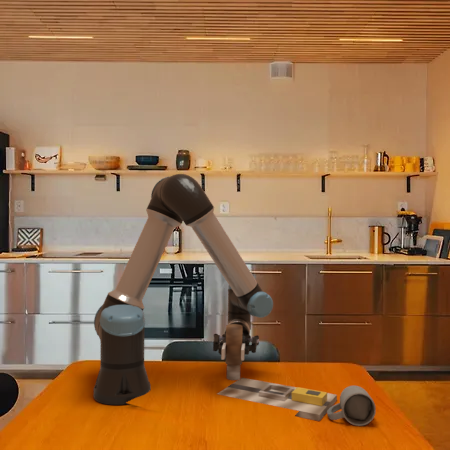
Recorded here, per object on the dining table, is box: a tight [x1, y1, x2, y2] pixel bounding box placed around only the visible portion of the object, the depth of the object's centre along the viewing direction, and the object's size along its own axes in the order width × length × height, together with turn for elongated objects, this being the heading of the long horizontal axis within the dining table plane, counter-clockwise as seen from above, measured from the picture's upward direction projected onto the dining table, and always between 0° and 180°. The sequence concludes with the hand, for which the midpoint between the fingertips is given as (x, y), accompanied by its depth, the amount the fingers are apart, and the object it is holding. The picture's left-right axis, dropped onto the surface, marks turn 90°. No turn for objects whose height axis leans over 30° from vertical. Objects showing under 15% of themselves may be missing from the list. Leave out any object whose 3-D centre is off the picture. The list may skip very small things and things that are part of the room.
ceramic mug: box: [326, 385, 377, 427], centre depth 116 cm, size 11×8×8 cm
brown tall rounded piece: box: [224, 324, 243, 381], centre depth 129 cm, size 4×4×14 cm
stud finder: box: [292, 386, 328, 406], centre depth 123 cm, size 8×4×2 cm, turn 61°
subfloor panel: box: [216, 377, 338, 422], centre depth 127 cm, size 28×15×3 cm, turn 62°
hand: (232, 354), depth 124 cm, fingers closed on brown tall rounded piece, 4 cm apart
